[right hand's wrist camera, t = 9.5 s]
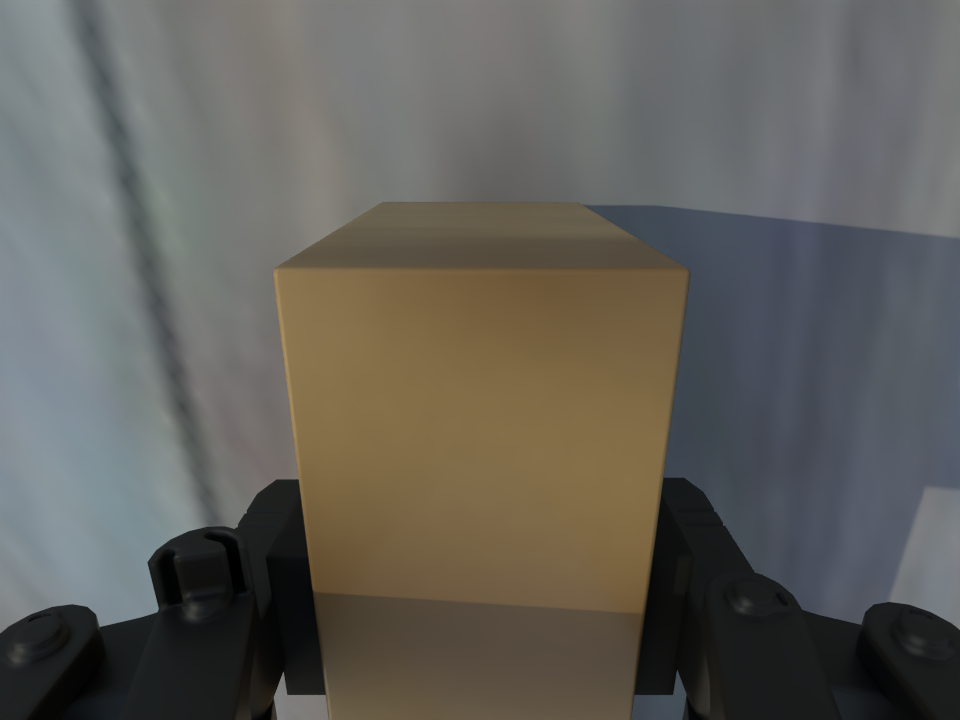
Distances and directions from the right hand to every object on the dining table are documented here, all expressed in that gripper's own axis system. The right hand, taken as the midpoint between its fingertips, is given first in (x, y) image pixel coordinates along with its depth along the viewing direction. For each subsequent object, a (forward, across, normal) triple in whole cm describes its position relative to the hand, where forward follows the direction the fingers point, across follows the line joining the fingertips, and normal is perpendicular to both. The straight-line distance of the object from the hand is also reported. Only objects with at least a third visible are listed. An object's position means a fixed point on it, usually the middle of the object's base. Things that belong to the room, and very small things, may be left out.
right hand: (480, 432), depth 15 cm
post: (+1, 0, -24) cm, 24 cm away
